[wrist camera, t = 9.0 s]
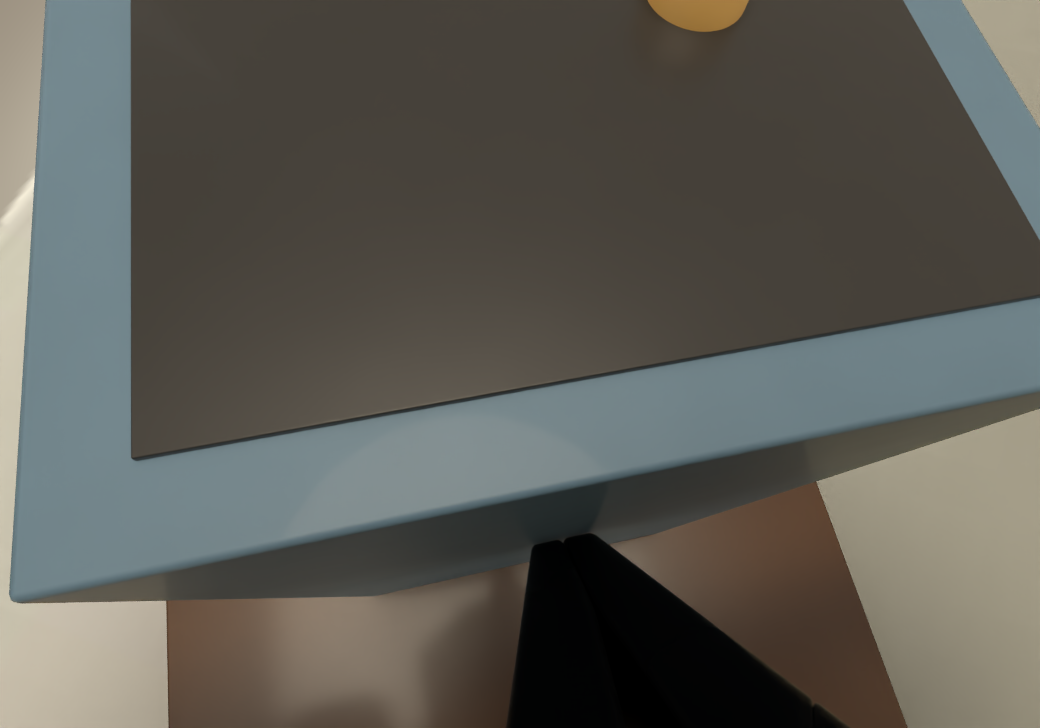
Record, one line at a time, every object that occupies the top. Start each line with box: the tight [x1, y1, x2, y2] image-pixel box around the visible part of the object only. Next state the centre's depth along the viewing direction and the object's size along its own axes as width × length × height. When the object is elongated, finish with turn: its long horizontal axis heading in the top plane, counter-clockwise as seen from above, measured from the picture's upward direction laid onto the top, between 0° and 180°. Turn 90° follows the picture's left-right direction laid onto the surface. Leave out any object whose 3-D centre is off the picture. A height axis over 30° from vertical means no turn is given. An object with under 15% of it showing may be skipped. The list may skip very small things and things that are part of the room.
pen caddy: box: [9, 0, 1040, 603], centre depth 10 cm, size 9×7×13 cm
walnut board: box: [166, 482, 907, 728], centre depth 15 cm, size 22×16×1 cm
